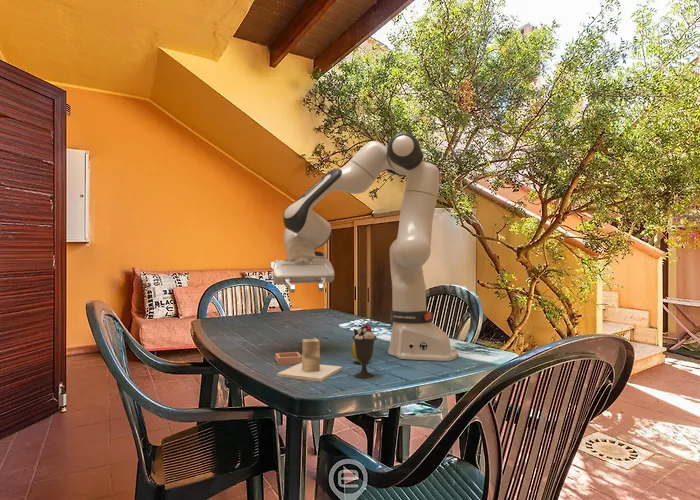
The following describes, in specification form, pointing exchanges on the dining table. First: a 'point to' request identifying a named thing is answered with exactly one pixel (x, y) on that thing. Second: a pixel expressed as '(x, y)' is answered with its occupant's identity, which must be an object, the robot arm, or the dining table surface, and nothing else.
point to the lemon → (355, 352)
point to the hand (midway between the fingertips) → (307, 290)
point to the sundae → (364, 348)
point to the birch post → (310, 355)
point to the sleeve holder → (288, 358)
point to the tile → (310, 373)
